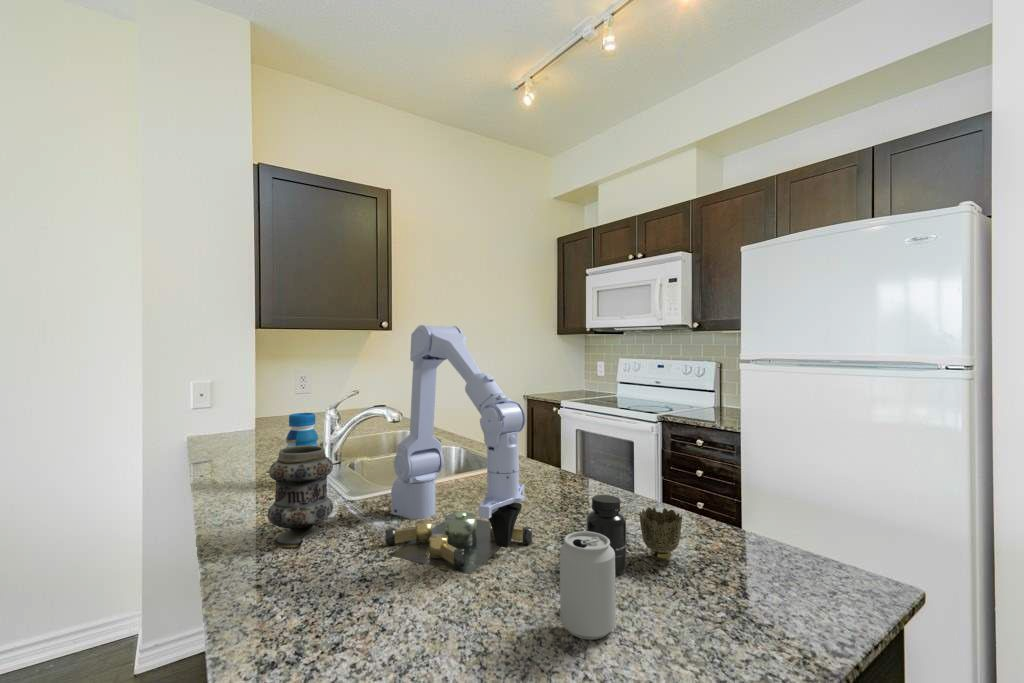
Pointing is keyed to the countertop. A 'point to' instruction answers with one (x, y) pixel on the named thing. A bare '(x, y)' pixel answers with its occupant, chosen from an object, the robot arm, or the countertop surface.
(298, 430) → the beverage bottle
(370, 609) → the countertop surface
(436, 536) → the lever front
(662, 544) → the cup
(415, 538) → the lever left
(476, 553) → the plate
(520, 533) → the lever right
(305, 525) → the apothecary jar
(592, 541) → the can
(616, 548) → the supplement bottle
